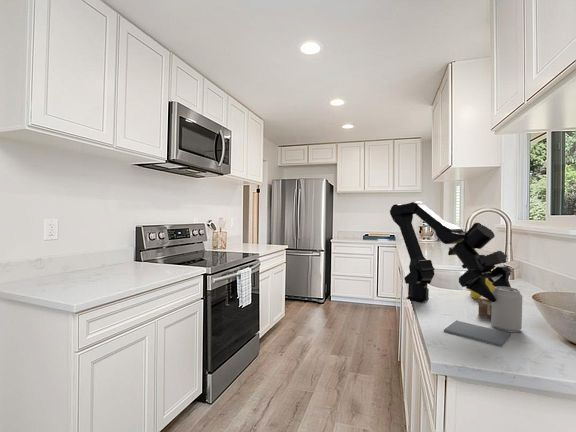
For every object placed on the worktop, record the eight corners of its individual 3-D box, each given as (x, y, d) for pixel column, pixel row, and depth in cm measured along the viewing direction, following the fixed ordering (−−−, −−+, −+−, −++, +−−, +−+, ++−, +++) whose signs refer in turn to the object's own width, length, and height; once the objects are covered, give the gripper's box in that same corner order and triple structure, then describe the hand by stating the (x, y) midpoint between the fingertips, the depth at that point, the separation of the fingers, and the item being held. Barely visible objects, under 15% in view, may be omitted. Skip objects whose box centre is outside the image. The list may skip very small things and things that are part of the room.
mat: (443, 331, 92) (443, 329, 92) (456, 322, 99) (456, 320, 99) (501, 346, 82) (501, 344, 82) (510, 335, 90) (510, 333, 90)
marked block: (478, 316, 106) (478, 298, 106) (483, 311, 111) (483, 294, 110) (499, 320, 102) (499, 301, 102) (503, 316, 106) (504, 298, 106)
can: (526, 334, 91) (528, 292, 90) (497, 331, 92) (498, 290, 92) (513, 324, 98) (515, 286, 98) (486, 322, 99) (487, 284, 99)
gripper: (468, 243, 96) (506, 287, 86) (505, 241, 104) (544, 281, 94) (444, 265, 103) (477, 308, 93) (481, 261, 111) (515, 301, 101)
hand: (504, 299), depth 95 cm, fingers open, 9 cm apart
